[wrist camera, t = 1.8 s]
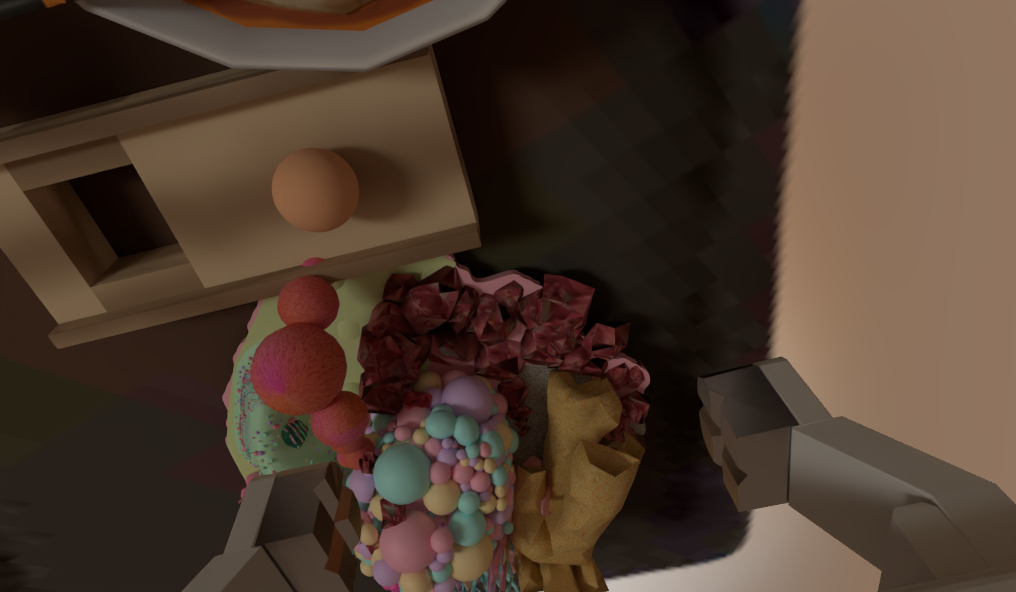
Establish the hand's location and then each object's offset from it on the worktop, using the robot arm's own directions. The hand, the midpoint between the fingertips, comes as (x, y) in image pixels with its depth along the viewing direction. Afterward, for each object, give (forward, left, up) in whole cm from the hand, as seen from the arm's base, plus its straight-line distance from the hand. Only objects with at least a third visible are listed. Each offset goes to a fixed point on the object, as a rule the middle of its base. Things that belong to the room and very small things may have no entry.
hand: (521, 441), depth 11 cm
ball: (0, -7, -17) cm, 18 cm away
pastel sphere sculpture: (+17, -6, -20) cm, 27 cm away
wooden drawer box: (0, -12, -21) cm, 24 cm away
